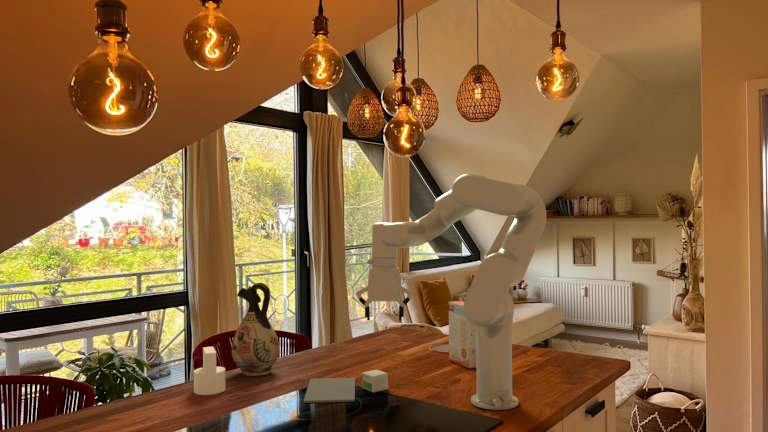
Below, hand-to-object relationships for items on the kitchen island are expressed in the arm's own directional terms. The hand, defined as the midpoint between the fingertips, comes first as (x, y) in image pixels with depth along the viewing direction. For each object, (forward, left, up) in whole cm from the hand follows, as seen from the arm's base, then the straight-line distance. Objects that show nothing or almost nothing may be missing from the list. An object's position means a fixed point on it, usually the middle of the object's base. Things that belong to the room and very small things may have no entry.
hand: (384, 319), depth 177 cm
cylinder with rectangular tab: (-1, +52, -20) cm, 56 cm away
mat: (-4, +16, -20) cm, 26 cm away
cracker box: (+24, -29, -20) cm, 42 cm away
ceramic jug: (+17, +41, -20) cm, 49 cm away
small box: (-3, +3, -20) cm, 21 cm away
